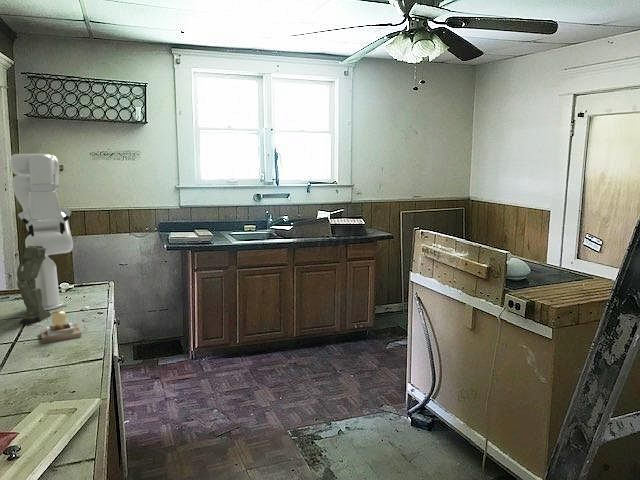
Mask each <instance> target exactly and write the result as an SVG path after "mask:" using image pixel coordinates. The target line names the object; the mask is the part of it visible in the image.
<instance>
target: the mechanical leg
mask: <svg viewBox="0 0 640 480" xmlns="http://www.w3.org/2000/svg"><path fill="white" fill-rule="evenodd" d="M45 250H46V248H43V246H28V247H27V248H26V247H25V252H24V254H23V257H22V258H23V260H22V263H21V264H18V265H17V266H18V267H17V270H16V276H17V281H16V285H17V287H18V290H19V293H20V295H21V298H22V302H23V303H24V306H25V307H26V309H25V310H26V311H25V313H24V317H22V318H21V319H20V320H19V324H20V325H33V324H36V323H38V322H41V321H43V320H44V319H46V318H49V317H51V311H48V310H44V308H43V306H42V293H41V289H39V288H38V289H36V281H35V278H37V276H38V273H39V270H40V267H41V264H42V262H43V260H44V259H45V258H46V257H45Z"/></svg>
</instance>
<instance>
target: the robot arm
mask: <svg viewBox="0 0 640 480" xmlns="http://www.w3.org/2000/svg"><path fill="white" fill-rule="evenodd" d="M9 162H10V163H9V165H10V168H11V171H12V173H13V174H14V175H15V176H13V178H12V179H11V186H12V190H13V194H14V196H15V197H16V199H17V201H18V203H19V204H20V206H21V208H22V211H21V212H19V213H18V214H17V216H18V217H19V219H20V220H21V221H22V222H23V223H24V224H25V226H26V227H25V228H26V230H27V231H28V234H29V235H27V236H26V238H25V241H24V244H25V249H26V248H27V247H28V246H43V248H46V250H45V257H46V258H45V259H44V260H43V262H42V264H41V267H40V270H39V273H38V276H37V278H35V281H36V289H38V288H39V289H41V293H42V306H43V308H44V310H46V311H51V310H55V309H59V308H61V307H63V306H64V305H65V302H64V300H63V299H60V293H59V292H60V291H59V281H58V272H57V271H58V270H57V265H56V263H55V261H54V260H53V259H52V258H50V256H51V255H60V254H68V253H71V252H72V250H73V248H74V241H73V236H72V232H71V229H70V223H69V220H68V219H70V216H71V214H72V211H71V210H70V209H68V208H64V207H62V206H61V204H60V198H59V194H58V192H57V191H58V189H59V188H60V185H59V184H60V162H59V159H58V158H57V157H56V156H55V155H54V154H49V153H14V154H11V157H10V161H9Z"/></svg>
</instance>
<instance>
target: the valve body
mask: <svg viewBox="0 0 640 480" xmlns="http://www.w3.org/2000/svg"><path fill="white" fill-rule="evenodd" d="M50 315H51V322H52V325H53V331H57V330H63V329H67V323H68V322H67V316H66V310H62V309H61V310H60V309H59V310H56V311H52V312H50Z"/></svg>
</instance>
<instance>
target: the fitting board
mask: <svg viewBox="0 0 640 480" xmlns="http://www.w3.org/2000/svg"><path fill="white" fill-rule="evenodd" d="M66 323H67V329H63V330H57V331H53V324H52V325H51V324H50V325H47V326H46V328H44V329H40V330H39V331H40V336H41V340H42V344H48V343H53V342H58V341H64V340H70V339H75V338H81V337H82V332H81V330H80V328H79V326H78V324H77V323H75V324H73V323H72V322H66Z"/></svg>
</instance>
